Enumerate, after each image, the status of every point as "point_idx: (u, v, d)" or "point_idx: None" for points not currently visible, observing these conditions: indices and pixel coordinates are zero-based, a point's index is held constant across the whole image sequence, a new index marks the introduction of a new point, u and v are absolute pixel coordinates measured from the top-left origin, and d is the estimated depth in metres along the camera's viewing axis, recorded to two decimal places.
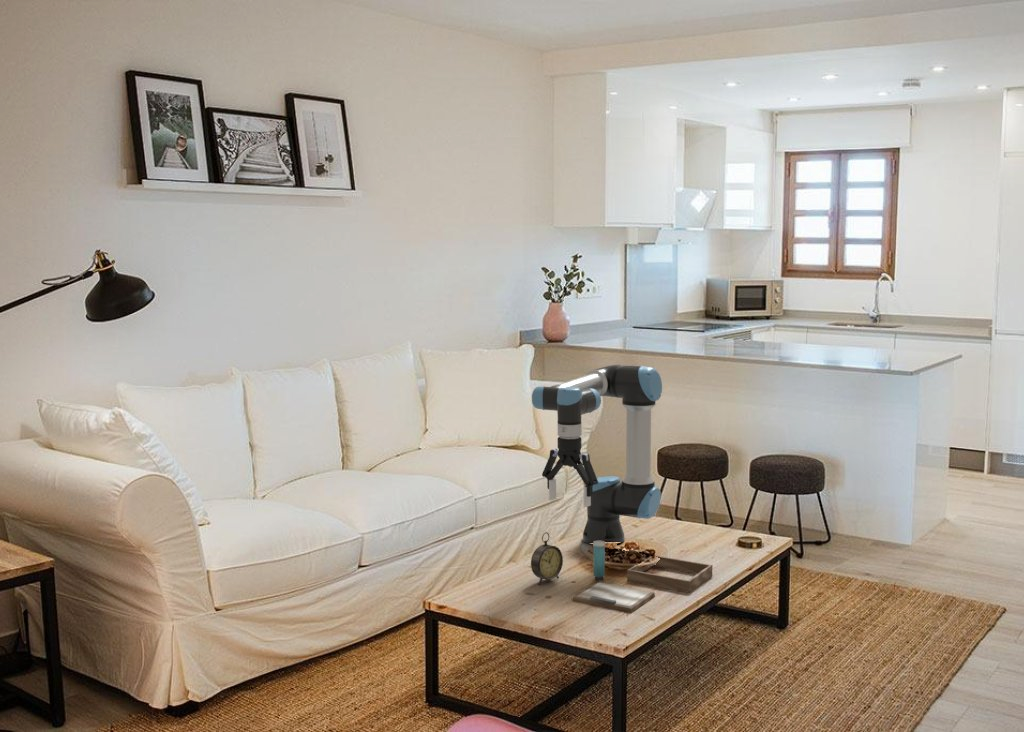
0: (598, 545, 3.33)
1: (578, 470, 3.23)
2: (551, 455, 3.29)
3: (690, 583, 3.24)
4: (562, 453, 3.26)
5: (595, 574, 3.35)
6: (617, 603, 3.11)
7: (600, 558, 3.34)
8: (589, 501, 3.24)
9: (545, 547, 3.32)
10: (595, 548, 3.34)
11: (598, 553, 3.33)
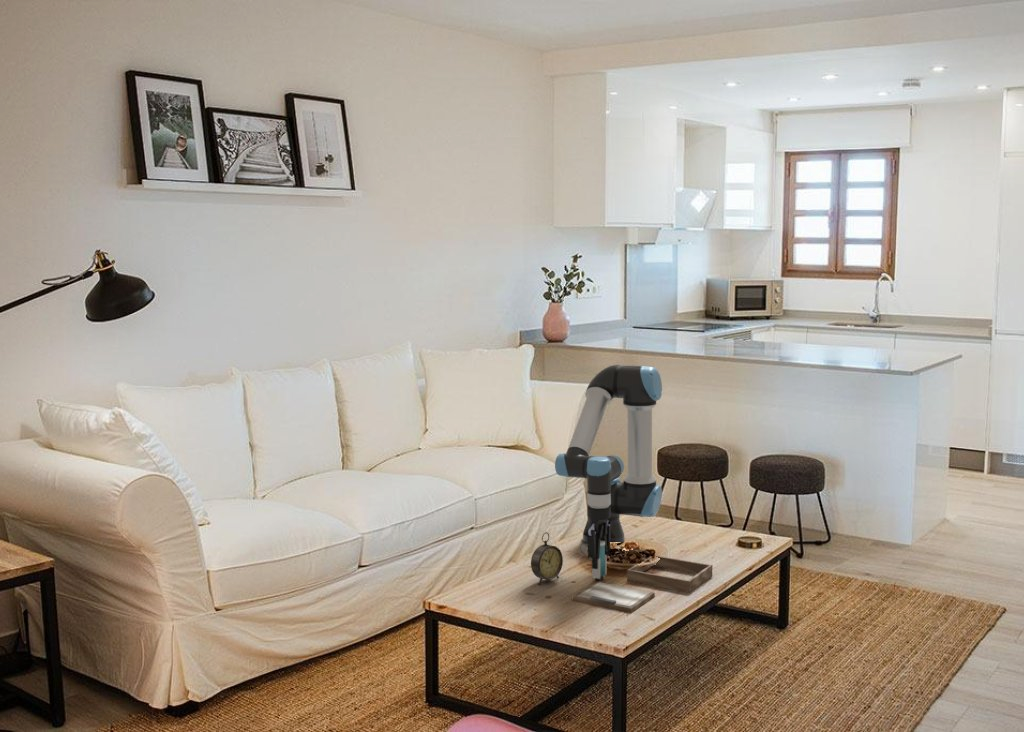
0: None
1: None
2: None
3: (690, 583, 3.24)
4: None
5: None
6: (617, 603, 3.11)
7: (600, 558, 3.34)
8: (597, 574, 3.34)
9: (545, 547, 3.32)
10: None
11: None
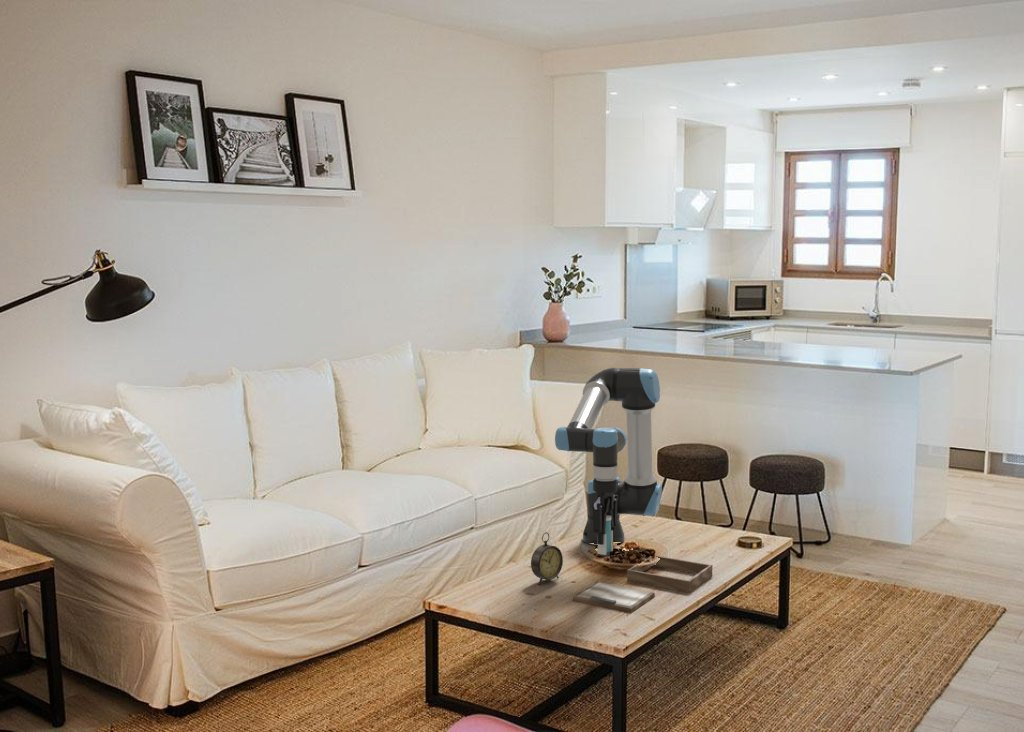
0: None
1: None
2: None
3: (690, 583, 3.24)
4: None
5: None
6: (617, 603, 3.11)
7: (606, 533, 3.21)
8: (603, 550, 3.21)
9: (545, 547, 3.32)
10: None
11: None
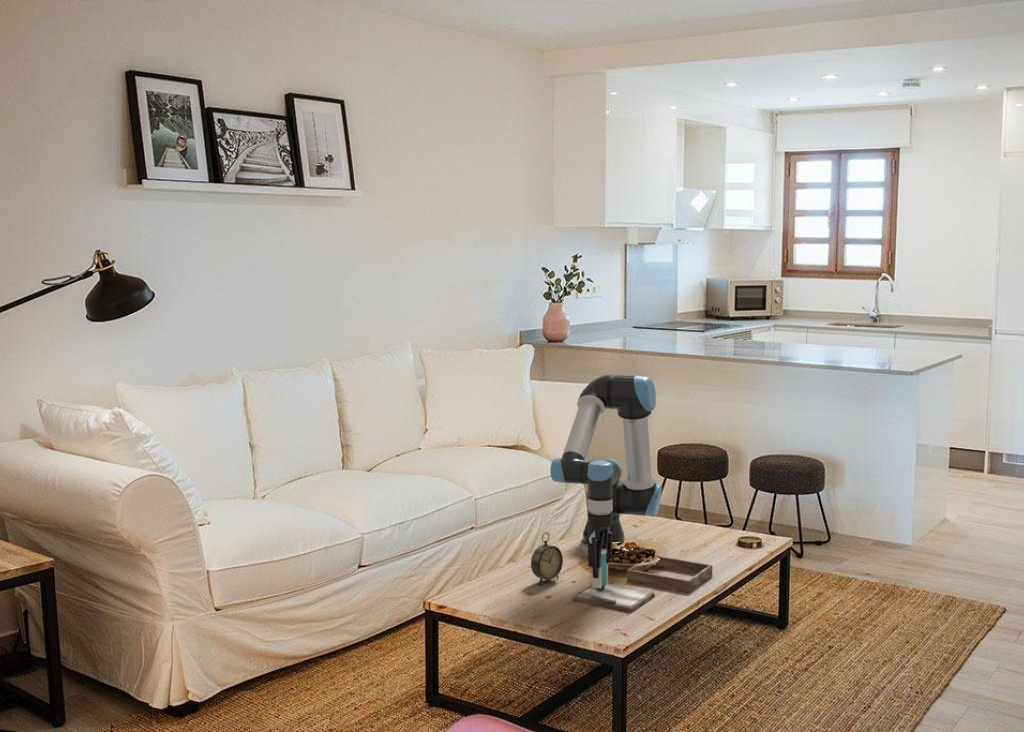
0: None
1: None
2: None
3: (690, 583, 3.24)
4: None
5: None
6: (617, 603, 3.11)
7: (601, 566, 3.19)
8: (598, 583, 3.19)
9: (545, 547, 3.32)
10: None
11: None
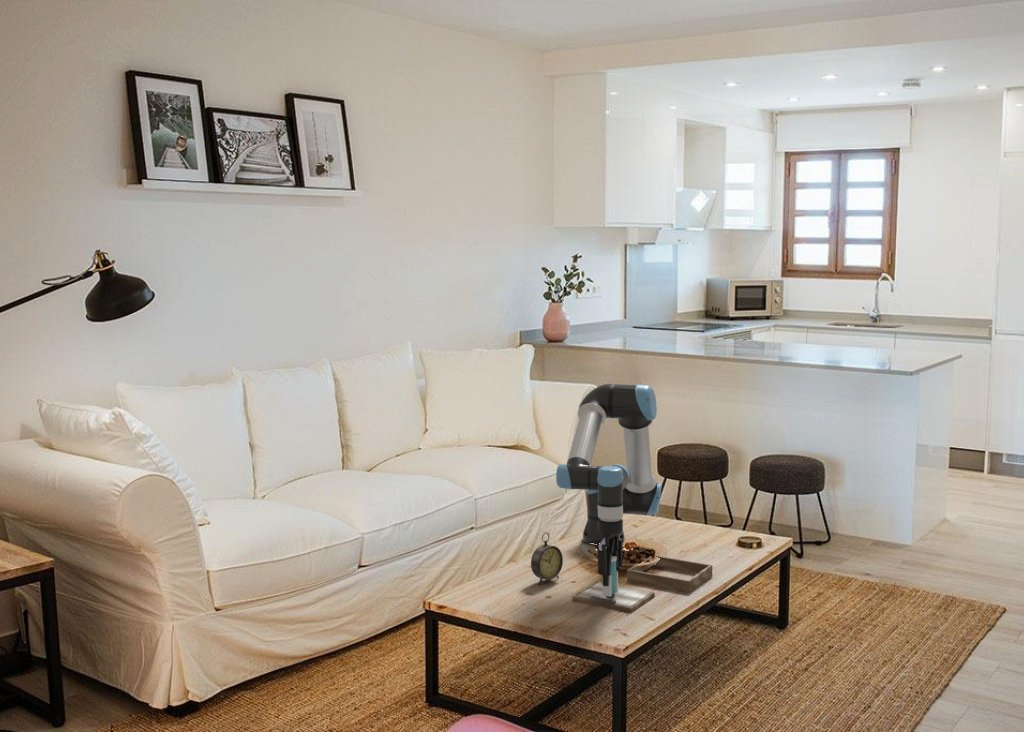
0: None
1: None
2: None
3: (690, 583, 3.24)
4: None
5: None
6: (617, 603, 3.11)
7: (612, 574, 3.12)
8: (608, 591, 3.12)
9: (545, 547, 3.32)
10: None
11: None
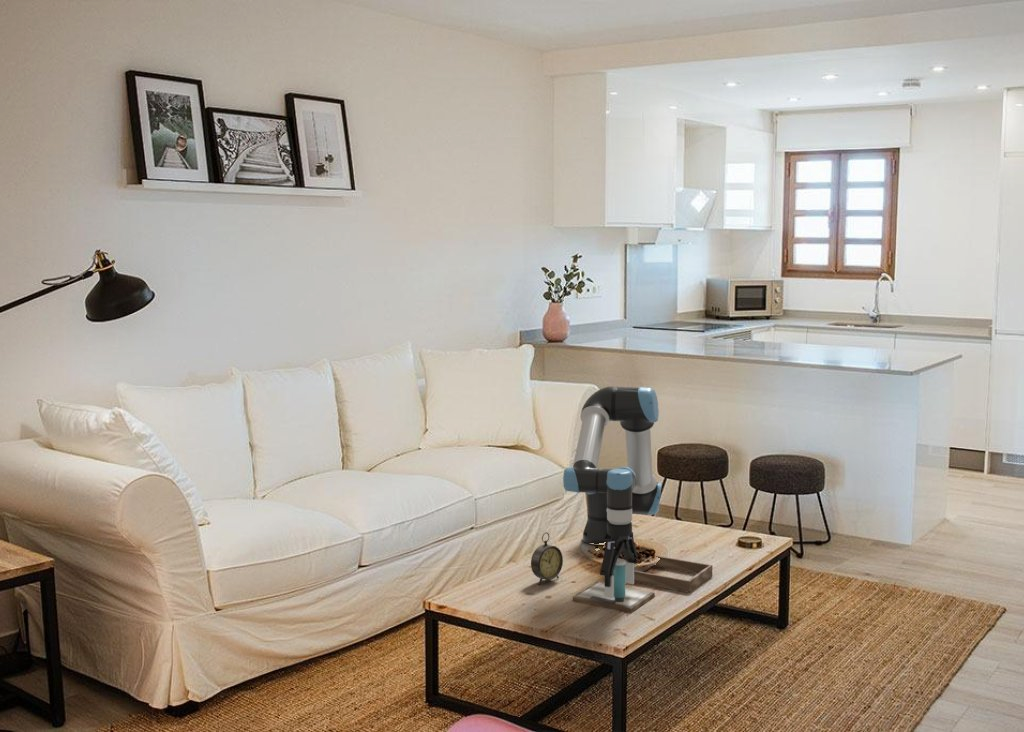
0: (618, 564, 3.10)
1: None
2: None
3: (690, 583, 3.24)
4: None
5: (615, 595, 3.12)
6: (617, 603, 3.11)
7: (621, 578, 3.11)
8: (610, 592, 3.06)
9: (545, 547, 3.32)
10: (615, 567, 3.11)
11: (618, 573, 3.10)
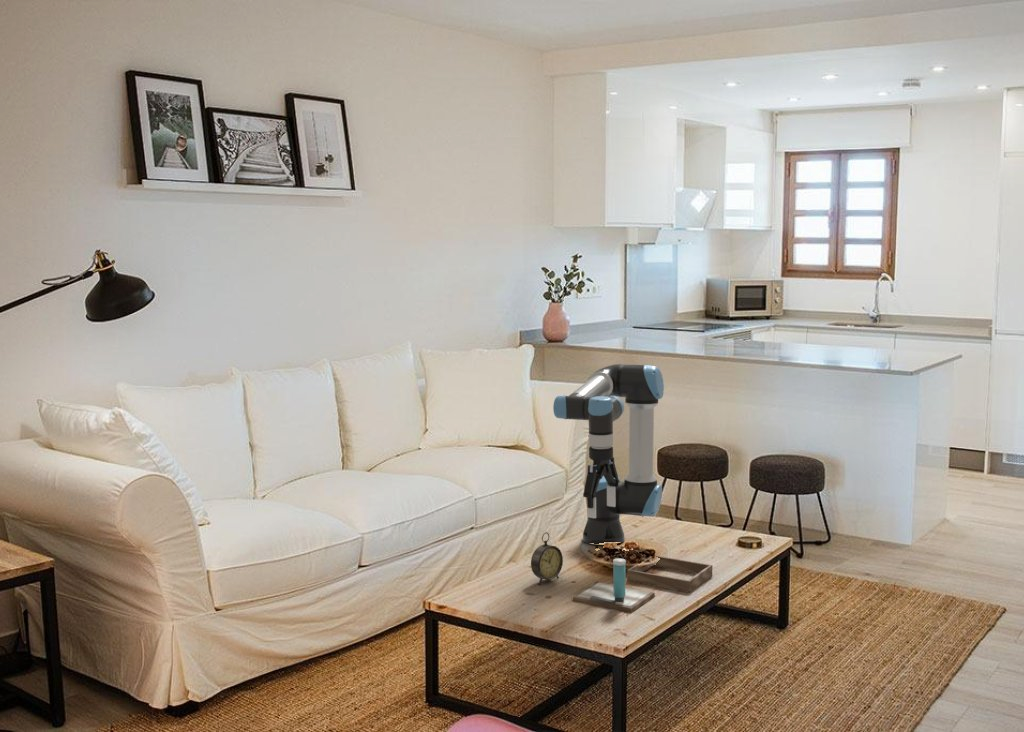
0: (618, 564, 3.10)
1: None
2: None
3: (690, 583, 3.24)
4: None
5: (615, 595, 3.12)
6: (617, 603, 3.11)
7: (621, 578, 3.11)
8: (593, 513, 3.22)
9: (545, 547, 3.32)
10: (615, 567, 3.11)
11: (618, 572, 3.10)
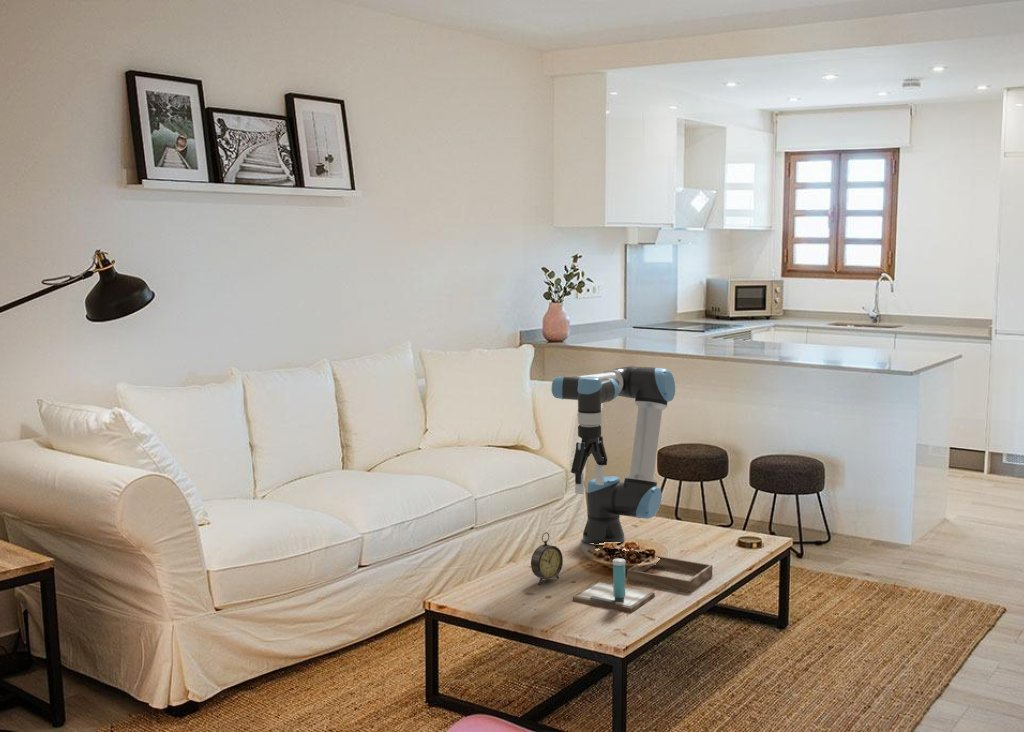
0: (618, 564, 3.10)
1: None
2: None
3: (690, 583, 3.24)
4: None
5: (615, 595, 3.12)
6: (617, 603, 3.11)
7: (621, 578, 3.11)
8: (580, 489, 3.31)
9: (545, 547, 3.32)
10: (615, 567, 3.11)
11: (618, 572, 3.10)
